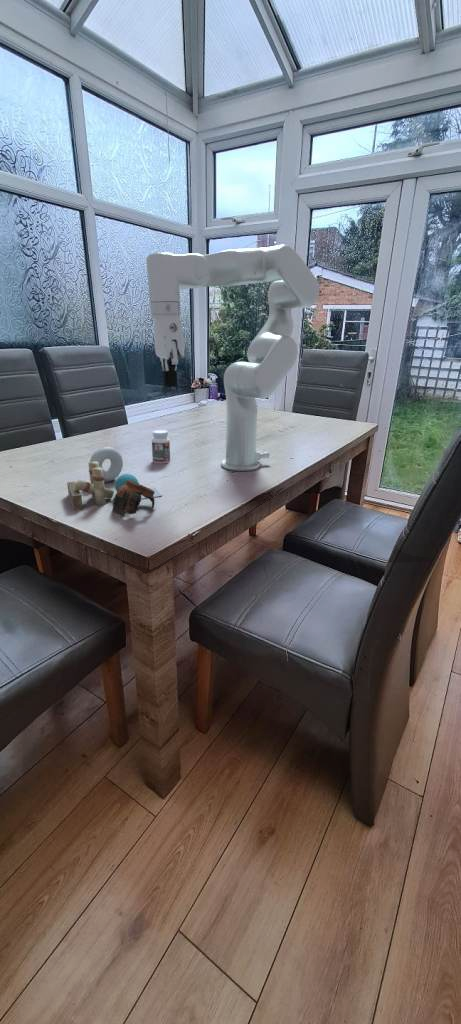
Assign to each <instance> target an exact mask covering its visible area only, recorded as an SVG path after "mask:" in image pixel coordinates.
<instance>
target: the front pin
mask: <svg viewBox="0 0 461 1024" xmlns="http://www.w3.org/2000/svg"><path fill="white" fill-rule="evenodd" d="M75 482H76V485H75V489H77V490H79V491H81V492H84V493H88V494H91V495H92V494H95V491H94V484H91V482H90V481H89V482H88V481H84V480H80V479H77V481H75ZM104 489H105V499H109V500H112V498H113V496H114V494H115V491H114V489H112V488H107V487H105V486H104Z"/></svg>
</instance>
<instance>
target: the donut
mask: <svg viewBox="0 0 461 1024" xmlns="http://www.w3.org/2000/svg"><path fill="white" fill-rule="evenodd" d="M105 460H109V461H110V465H109V467H108V469H103V476H104V483H107V482H111V481H114V480H115V479H117V478H118V477H119V476H120V474H121V473H122V470H123V464H124V461H123V457H122V455H121V453H120V452H119V451H118V450H117V449H116V448H114V447H112V446H103V447H100V448H98V449H97V450H96V451H94V453H93V454H92V455H91V457H90V460H89V462H93V461H96V462H98V463H99V467H100V468H103V463H104V462H105Z"/></svg>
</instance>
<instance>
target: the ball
mask: <svg viewBox="0 0 461 1024" xmlns="http://www.w3.org/2000/svg"><path fill="white" fill-rule="evenodd" d="M127 480H130V481H133V482H135V483H138V484H140V483H139V480H138V478H137V477H136V476H135V475H132V474H131V473H124V474H121V475H118V477H116V480H115V483H114V489H115V491H116V492H117V490H118V489H119V488H120V487H121V486H123V485H125V484H126V482H127ZM125 497H127V494H126V496H125Z"/></svg>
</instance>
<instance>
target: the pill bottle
mask: <svg viewBox="0 0 461 1024" xmlns="http://www.w3.org/2000/svg"><path fill="white" fill-rule="evenodd" d="M152 436H153V438H152V439H151V452H152V453H151V454H152V462H153V463H155V464H160V465H161V464H167V463H170V461H171V447H170V446H171V443H170V439H169V437H168V436H169V433H168V430H163V429H157V430H153V431H152Z"/></svg>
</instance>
